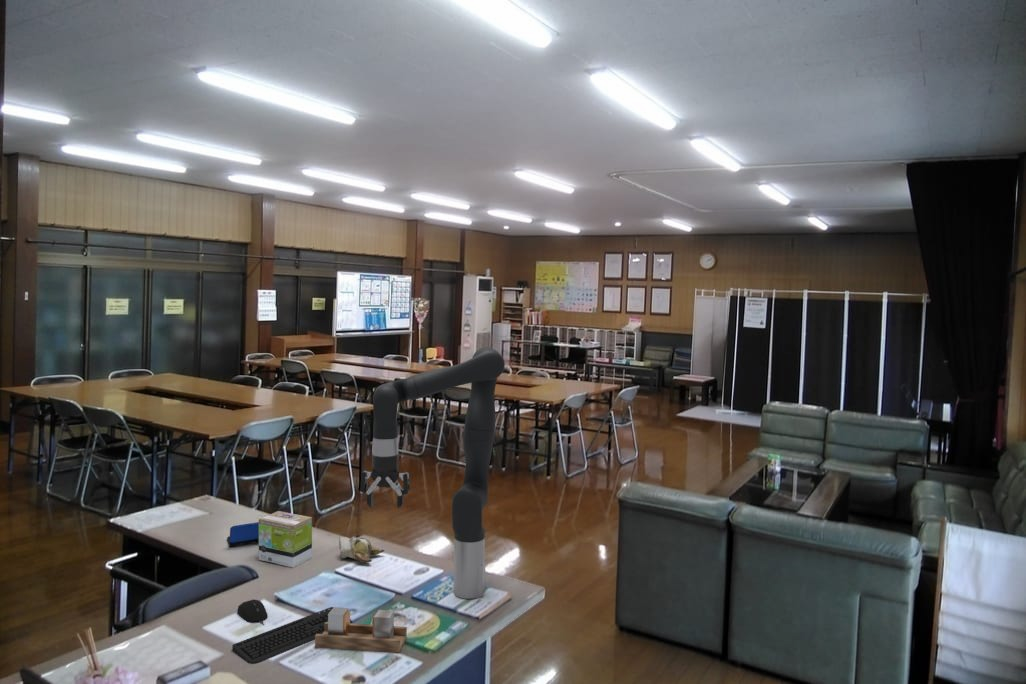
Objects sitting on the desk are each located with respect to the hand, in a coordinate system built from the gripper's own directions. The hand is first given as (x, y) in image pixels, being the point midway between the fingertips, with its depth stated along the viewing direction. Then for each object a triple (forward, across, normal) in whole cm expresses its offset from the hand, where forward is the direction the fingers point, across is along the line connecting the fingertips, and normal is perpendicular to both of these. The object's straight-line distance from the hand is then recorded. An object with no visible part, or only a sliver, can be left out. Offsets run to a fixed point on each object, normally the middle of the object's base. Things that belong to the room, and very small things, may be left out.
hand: (385, 506), depth 198 cm
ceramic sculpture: (+28, +18, -30) cm, 45 cm away
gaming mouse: (+29, +33, +14) cm, 46 cm away
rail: (+28, -1, +25) cm, 38 cm away
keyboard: (+29, +17, +24) cm, 41 cm away
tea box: (+28, +42, -26) cm, 57 cm away
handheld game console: (+29, +61, -40) cm, 79 cm away
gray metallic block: (+27, +5, +25) cm, 37 cm away
